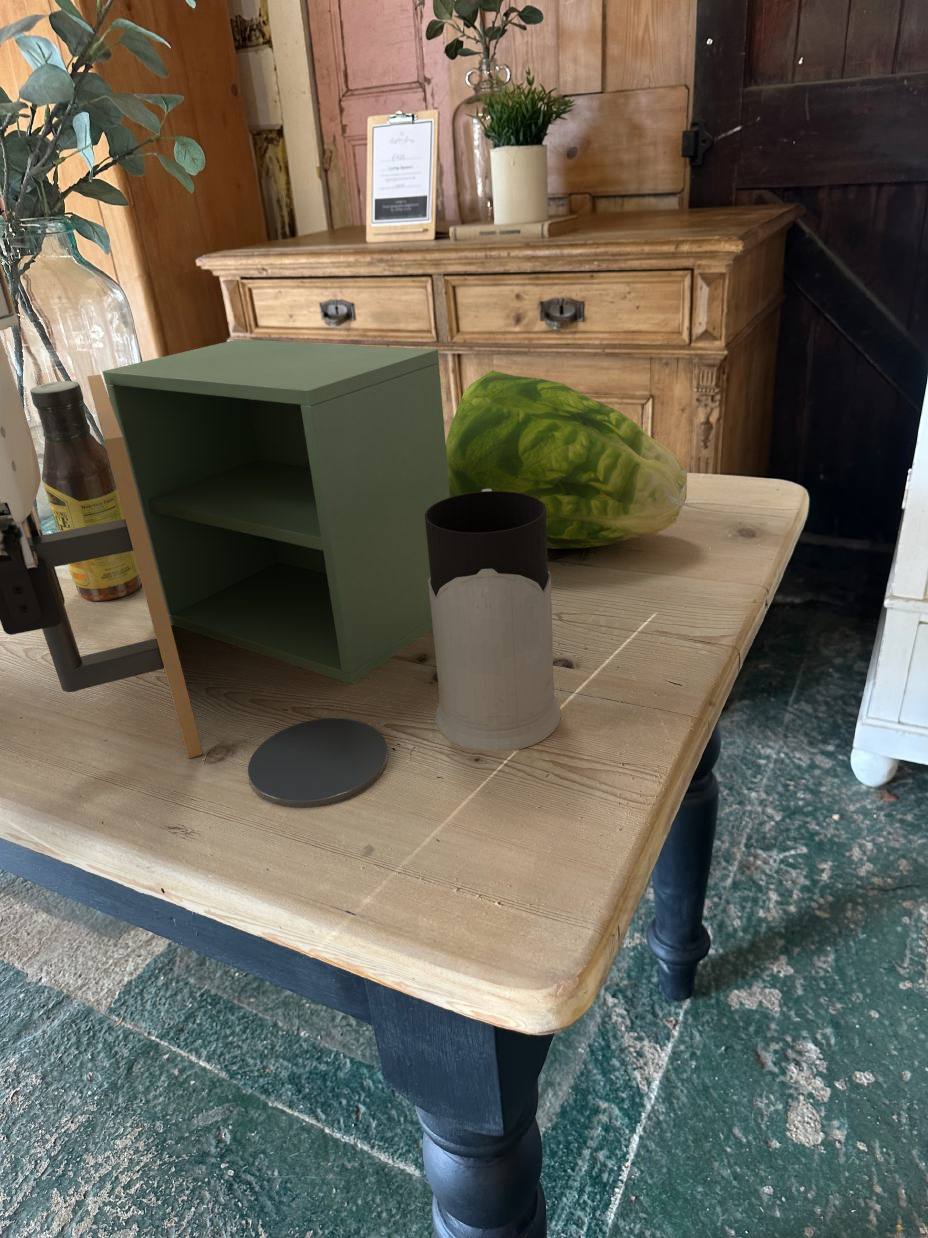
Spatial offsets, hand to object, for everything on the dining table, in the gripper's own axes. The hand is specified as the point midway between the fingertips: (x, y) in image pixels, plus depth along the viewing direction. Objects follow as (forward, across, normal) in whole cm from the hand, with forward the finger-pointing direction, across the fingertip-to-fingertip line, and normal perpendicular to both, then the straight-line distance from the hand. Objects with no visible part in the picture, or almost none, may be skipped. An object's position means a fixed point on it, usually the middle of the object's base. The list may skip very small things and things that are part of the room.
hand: (36, 617), depth 53 cm
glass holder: (+11, +4, +28) cm, 31 cm away
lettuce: (+11, -20, +45) cm, 50 cm away
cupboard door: (+11, -8, +3) cm, 14 cm away
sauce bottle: (+11, -30, +1) cm, 32 cm away
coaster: (+11, +7, +15) cm, 20 cm away
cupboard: (+11, -15, +18) cm, 26 cm away
